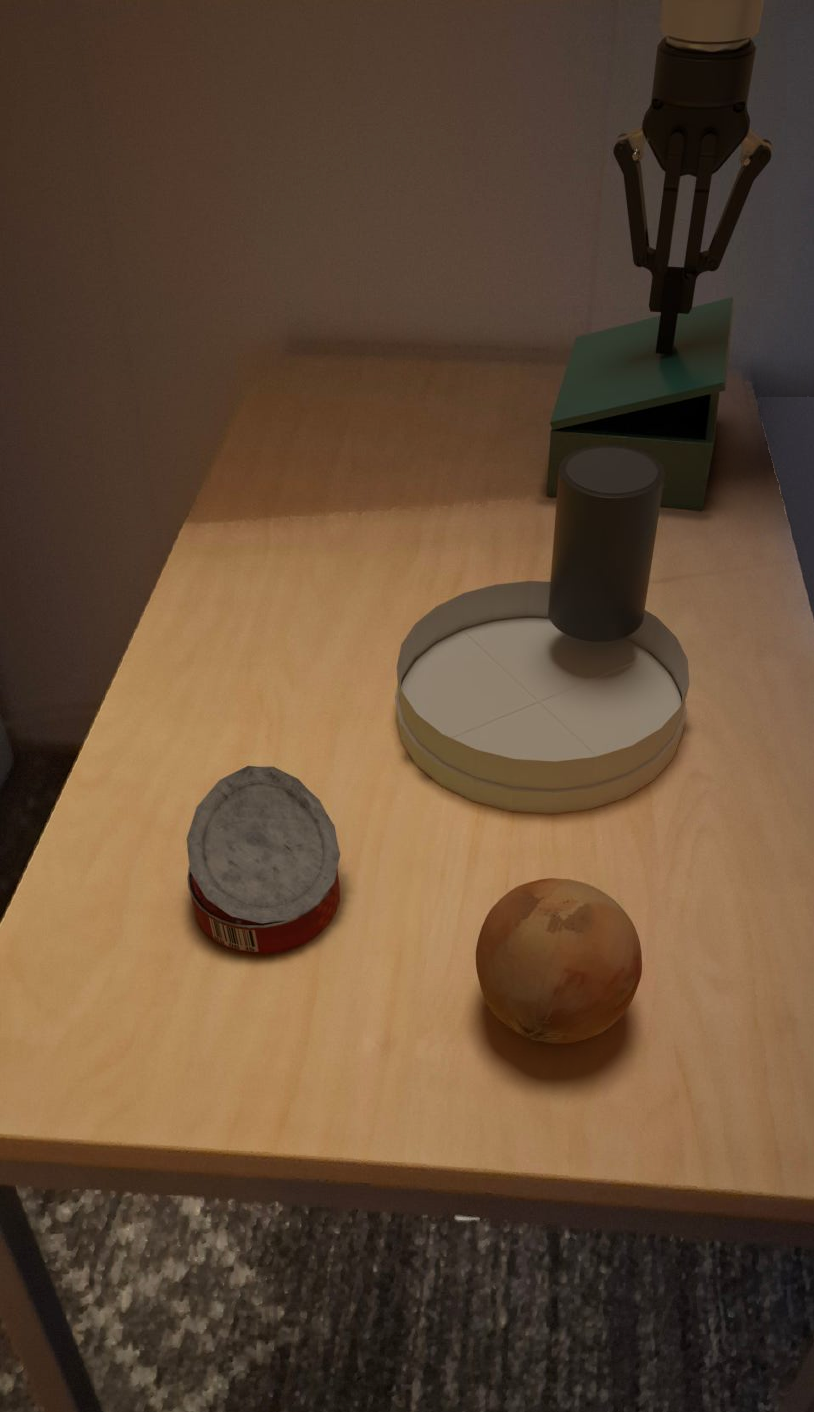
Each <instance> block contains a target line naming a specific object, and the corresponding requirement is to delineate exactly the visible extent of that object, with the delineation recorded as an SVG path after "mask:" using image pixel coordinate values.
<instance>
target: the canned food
mask: <svg viewBox="0 0 814 1412" xmlns="http://www.w3.org/2000/svg"><path fill="white" fill-rule="evenodd" d="M322 803H323V802H321V800H320V799H319V798H318V797H317V796H316V795H315V794H314V793H313V792H312V791H310V790H309V789H308V788H307V787H306V785H305V784H304V783H303V782H302V781H301V780H300V779H299V778H298V777H296V776H294V775H291V774H290V773H287V772H285V771H283V770H282V769H280V768H278V767H275V766H273V765H272V766H255V765H247V766H245V767H242V768H241V769H239V770H236V771H234V772H233V773H230V774H229V775H227V776H224V777H223V778H220V779H218V781H217V782H216V783H215V784H214V785H213V786H212V788H211V789H210V791H209V792H208V793H207V794H206V795H205V797H204V798H202V799H201V801H200V802H199V804H198V805H197V806H196V807H195V812H194V814H193V818H192V821H191V824H190V827H189V830H188V833H187V835H186V846H187V857H188V871H187V878H186V879H187V886H188V891H189V894H190V897H191V902H192V905H193V909H194V913H195V916H196V919H197V922H198V924H199V926H200V927H201V929H202V930H203V932H205V934H206V935H207V936H208V937H209V938H210V939H211V940H213V941H214V942H215V943H217V944H219V945H220V946H223V947H225V949H229V950H232V951H236V952H238V953H241V954H249V955H250V954H251V955H270V954H276V953H282V952H287V951H289V950H292V949H295V948H299V947H300V946H302V945H304V944H306V943H307V942H310V941H311V940H313V939H314V938H315V937H316V936H318V935H320V934H321V933H322V932H323V931H324V930H325V928H327V926H328V925H329V924H330V923H331V921H332V920H333V918H334V916H335V914H336V913H337V910H338V908H339V904H340V901H341V900H340V898H341V897H340V896H341V893H340V892H341V887H340V879H339V870H338V867H339V863H340V857H341V851H340V847H339V843H338V836H337V832H336V831H337V830H336V826H335V823H333V821H332V820H331V818H330V816H329V814H328V813H327V811H326V808H324V805H323V804H322Z"/></svg>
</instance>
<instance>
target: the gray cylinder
mask: <svg viewBox="0 0 814 1412" xmlns="http://www.w3.org/2000/svg"><path fill="white" fill-rule="evenodd" d="M664 477H665V471H664V468H663V466H662V464H661V463H660V462H659V461H658V460H657V459H656V458H655V457H653V456H651V455H650V454H648V453H646V452H643V451H641V450H638V449H635V448H630V447H625V446H617V445H600V446H592V447H587V448H583V449H580V450H577V451H575V452H573V453H571V454H569V455H568V456H567V457H565V458H564V459H563V461H562V462H561V464H560V466H559V475H558V488H557V498H556V500H555V501H556V503H555V514H554V516H555V517H554V530H553V541H552V553H551V554H552V556H551V566H550V567H551V569H550V581H549V582H550V594H549V607H548V615H549V618H550V621H551V622H552V624H553V625H554V626H555V627H556V628H557V629H558V630H559V631H561V632H562V633H564V634H566V635H568V636H570V637H573V638H576V639H579V640H584V641H591V642H607V641H614V640H618V639H622V638H624V637H627V636H629V635H631V634H632V633H634V632H635V631H636V630H637V629H638V628H639V627H640V625H641V624H642V622H643V618H644V612H645V610H646V606H647V605H646V604H647V597H648V591H649V584H650V577H651V570H652V563H653V557H654V551H655V544H656V536H657V530H658V525H659V517H660V510H661V507H660V504H661V497H662V491H663V484H664Z"/></svg>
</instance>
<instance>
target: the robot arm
mask: <svg viewBox="0 0 814 1412" xmlns="http://www.w3.org/2000/svg"><path fill="white" fill-rule="evenodd" d="M764 4H765V0H662V2H661V8H660V9H661V11H660V17H659V18H660V19H659V31H660V33H661V34H662V35H663V36H665V37H663V38H662V39H661V40H660V42H659V43H658V45H657V47H656V56H655V64H654V74H653V83H652V90H651V91H652V92H651V99H650V104H649V107H648V109H647V110H646V112H645V114H644V116H643V120H642V123H641V125H639V126H637V127H636V128H635V129H633V130H632V131H630V132H628V133H621V134H619V135H618V136H617V138H616V141H615V144H614V147H613V151H612V152H613V156H614V158H615V160H616V162H617V164H618V167H619V168H620V170H621V172H622V175H623V183H624V192H625V200H626V209H627V217H628V226H629V233H630V234H629V235H630V244H631V245H630V246H631V252H632V262H633V264H634V266H635V267H636V268H644V269H646V270H648V271H649V272H650V273H651V285H650V291H649V292H650V293H649V301H648V308H649V311H650V312H651V313H660V315H659V316H660V323H659V330H658V337H657V345H656V352H655V353H659V354H672V350H673V344H674V338H675V331H676V324H677V317H678V313H681V314H689V312H690V311H691V309H692V307H693V304H694V298H695V297H694V296H695V290H696V283H697V279H698V277H699V276H700V275H701V274H703V273H705V272H716V271H717V270H718V269H719V268H720V266H721V263H722V261H723V258H724V256H725V253H726V251H727V248H728V246H729V244H730V241H731V238H732V236H733V234H734V231H735V228H736V227H737V224H738V221H739V219H740V216H741V214H742V211H743V209H744V207H745V204H746V201H747V199H748V197H749V193H750V192H751V189H752V186H753V184H754V181H755V180H756V179H757V178H758V176H759V175H760V174H761V173H762V172H763V170H764V169H765V168H766V167H767V165H768V164H769V163H770V161H771V159H772V150H773V145H772V144H773V143H772V142H771V140H769V139H767V138H764V139H762V138H760V136H758V135H757V134H756V133H755V132H754V131H753V130H752V129H751V128H750V125H751V118H750V115H749V112H748V99H749V95H750V89H751V83H752V76H753V71H754V70H753V69H754V66H755V65H754V64H755V58H756V52H757V47H756V45H755V43H754V41H753V40H752V38H754V37H755V36H756V35H757V34H758V33H759V32H760V27H761V21H762V15H763V9H764ZM646 142H647V144H648V146H649V148H650V150H651V152H652V154H653V156H654V158H655V159H656V161H657V163H658V166H659V167H660V169H661V170H662V171H663V172H664V180H663V187H662V188H663V189H662V197H661V205H660V212H659V221H658V228H657V236H656V244H655V248H653V247H651V246H650V237H649V228H648V219H647V207H646V197H645V189H644V180H643V170H642V162H641V160H642V159H643V156H644V153H645V146H644V143H646ZM740 145H741V149H742V150H741V152H740V153H739V164H740V168H739V171H738V173H737V175H736V178H735V180H734V183H733V186H732V188H731V190H730V193H729V196H728V198H727V201H726V203H725V206H724V209H723V211H722V213H721V216H720V218H719V222H718V224H717V225H716V229H715V232H714V234H713V237H712V238H711V242H710V244H709V247H708V248H707V250H704V251H701V250H702V244H703V237H704V230H705V223H706V217H707V210H708V204H709V197H710V190H711V183H712V177H713V175H714V174H716V173H717V172H718V171H719V170H720V169H721V168H722V167H723V166H724V164H725V163H726V162H727V161H728V159H729V158H730V157H731V156H732V155H733V154H734V152H735V151H736V150H737V149H738V148H739V147H740ZM684 176H691V177H694V178H696V179H695V185H694V192H693V199H692V206H691V214H690V220H689V228H688V233H687V234H688V235H687V241H686V248H685V249H686V250H685V255H684V264H683V267H682V266H670V265H669V263H670V257H671V249H672V243H673V236H674V235H673V234H674V227H675V220H676V213H677V204H678V197H679V190H680V184H681V177H684Z"/></svg>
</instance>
